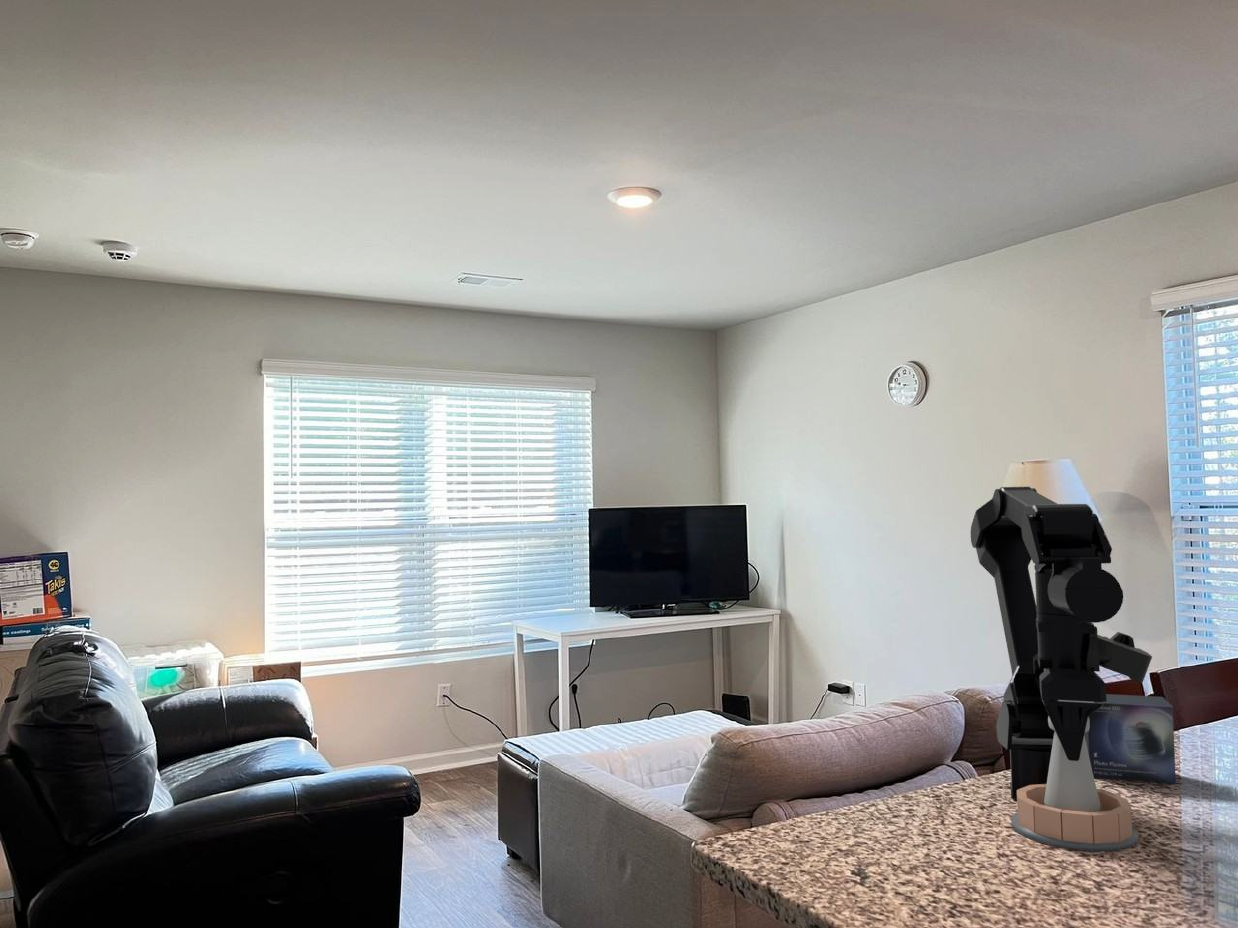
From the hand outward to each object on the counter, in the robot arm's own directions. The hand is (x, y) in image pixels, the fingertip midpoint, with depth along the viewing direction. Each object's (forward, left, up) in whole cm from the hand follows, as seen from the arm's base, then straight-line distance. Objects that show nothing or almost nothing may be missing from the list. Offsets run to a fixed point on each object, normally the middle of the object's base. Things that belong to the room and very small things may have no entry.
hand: (1069, 750), depth 105 cm
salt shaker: (0, 0, -9) cm, 9 cm away
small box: (+9, +27, -9) cm, 30 cm away
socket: (0, 0, -9) cm, 9 cm away
